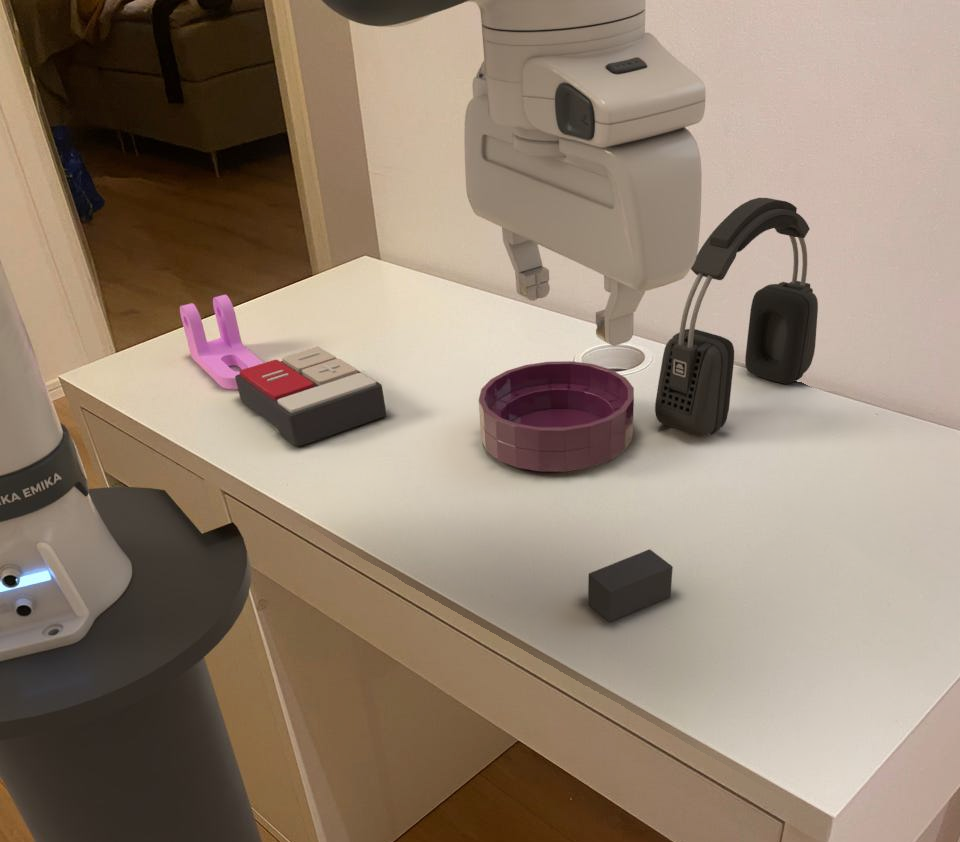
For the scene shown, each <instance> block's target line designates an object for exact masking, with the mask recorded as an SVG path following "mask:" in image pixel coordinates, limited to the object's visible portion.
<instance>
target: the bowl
mask: <svg viewBox="0 0 960 842" xmlns="http://www.w3.org/2000/svg"><path fill="white" fill-rule="evenodd" d="M634 407H635V388H634V386H633V385H632V384H631V382H630V381H629V379H628V378H627V377H625V376H623V374H620V373H618V372H616V371H615V370H613V369H611V368H607V367H604V366H601V365H598V364H593V363H590V362H589V363H588V362H579V361H574V360H573V361H571V360H570V361H569V360H567V361H566V360H565V361H543V362H537V363H529V364H525V365H521V366H518V367H515V368H511V369H508V370H505V371H503V372H502V373H500V374H498V375H496V376H494V377H492V378H491V379H489V381H487V382H486V384H485V385H484V386H483V387H481V389H480V393H479V396H478V409H479V410H478V413H479V427H480V429H479V430H480V439H481V442H482V444H483V446H484V449H485V451H486V452H487V453H489V454H490V455H491V456H492V457H494V459H496V460H497V461H500V462H502V463H504V464H506V465H510V466H512V467H515V468H517V469H524V470H530V471H536V472H572V471H577V470H583V469H589V468H592V467H596V466H599V465H601V464H604V463H606V462H609V461H612V460H613V459H614V458H616V457H617V456H619V455H620V454H622V453H623V452H625V451H626V449H627V448H628V447H629V445H630V443H631V442H632V441H633V434H634V433H633V432H634V411H635V410H634Z"/></svg>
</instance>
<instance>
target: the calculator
mask: <svg viewBox="0 0 960 842" xmlns="http://www.w3.org/2000/svg"><path fill="white" fill-rule="evenodd" d="M239 372H240V374H238V375H236V376H235V379H236V383H237V387H238V394H239V398H240V401H241V402H243V404H245V405H246V406H248V407H249V408H250V409H252V410H253V411H254V412H255V413H256V414H258V415H260V416H261V417H262V418H263V419H265V420H266V421H267V422H269V423H270V424H271V425H272V426H274V427H275V428H277V430H278V432H279V434H280V435H281V436H282V438H284V439H286V441H288V442H289V443H291V444H292V445H293V446H295V447H301V446H304V445H308V444H311V443H314V442H315V441H318V440H321V439H325V438H327V437H329V436H333V435H336V434H338V433H342V432H344V431H347V430H350V429H353V428H356V427H358V426H361V425H364V424H367V423H370V422H373V421H376V420H379V419H381V418H384V417H386V416H387V409H386V403H385V397H384V389H383V384H382V383H380V382H379V381H378V380H375V379H373V378H371V377H370V376H368V375H367V374H365V373H363V372H361V371H360V370H358V368H356V367H355V366H353V365H351V364H349V363H347V362H346V361H345V360H343V359H341V358H337V357H336V355H334V354H332V353H331V352H329V351H327V350H325V349H324V348H322V347H320V346H315V347H311V348H308V349H305V350H302V351H298V352H295V353H292V354H289V355H286V356H282V359H281V361H280V360H279V359H273V360H269V361H266V362H263V364H259V365H256V366H253V367H250V368H246V369H243V370H242V369H240V370H239Z"/></svg>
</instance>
